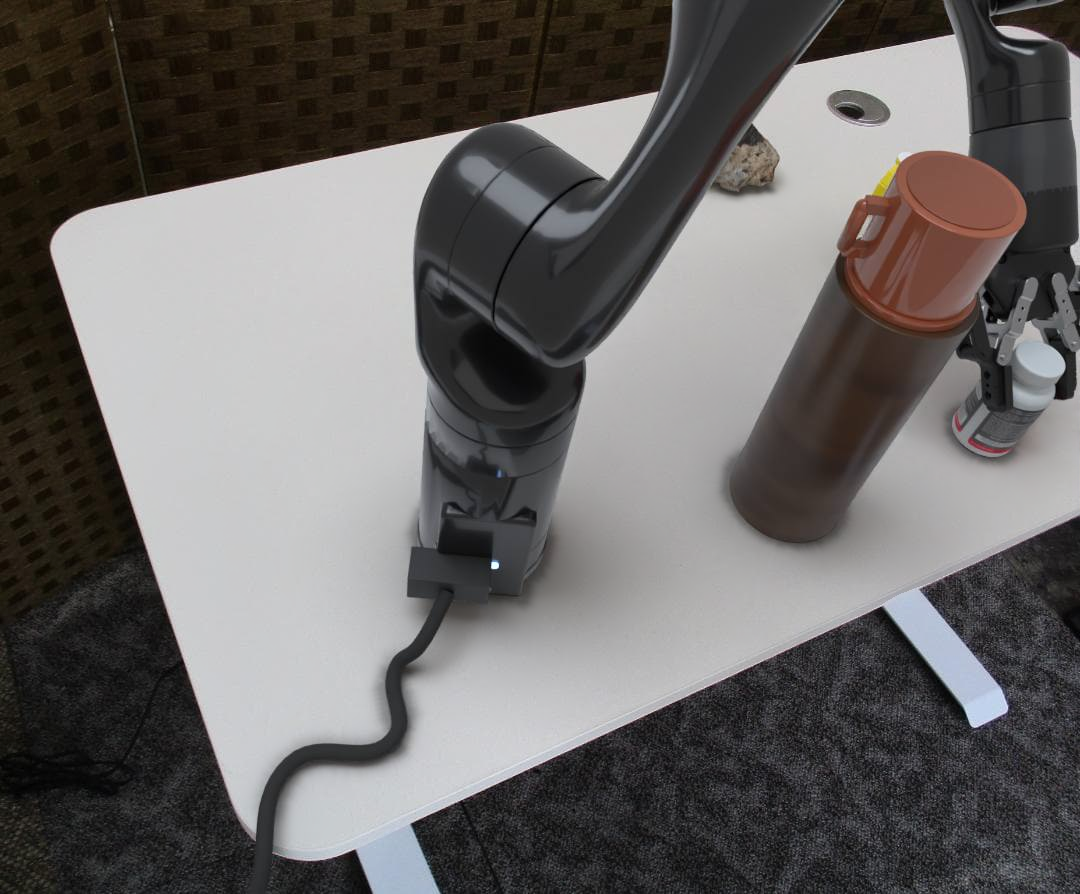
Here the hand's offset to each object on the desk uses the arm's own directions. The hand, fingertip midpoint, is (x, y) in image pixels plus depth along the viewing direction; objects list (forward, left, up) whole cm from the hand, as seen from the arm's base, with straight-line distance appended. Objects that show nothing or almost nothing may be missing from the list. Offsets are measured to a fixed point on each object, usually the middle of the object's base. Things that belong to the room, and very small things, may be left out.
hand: (1030, 404), depth 79 cm
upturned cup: (-7, +19, +17) cm, 26 cm away
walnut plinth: (-7, +19, -6) cm, 21 cm away
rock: (+33, +21, -6) cm, 39 cm away
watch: (+31, +4, -6) cm, 32 cm away
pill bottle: (+2, +1, -6) cm, 7 cm away
